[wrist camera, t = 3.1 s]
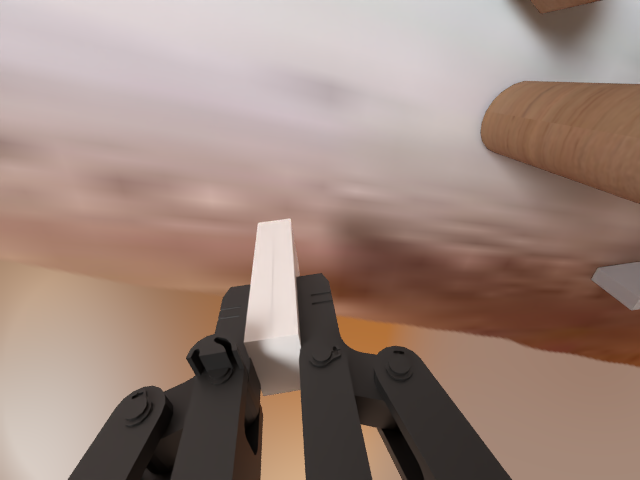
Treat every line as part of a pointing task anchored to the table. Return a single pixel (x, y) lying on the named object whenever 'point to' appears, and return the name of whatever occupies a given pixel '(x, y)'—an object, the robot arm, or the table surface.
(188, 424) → the robot arm
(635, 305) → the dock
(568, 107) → the wooden block set
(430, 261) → the table surface
